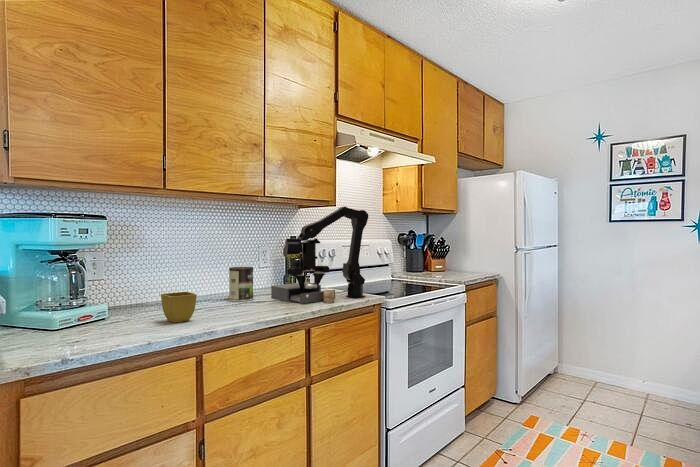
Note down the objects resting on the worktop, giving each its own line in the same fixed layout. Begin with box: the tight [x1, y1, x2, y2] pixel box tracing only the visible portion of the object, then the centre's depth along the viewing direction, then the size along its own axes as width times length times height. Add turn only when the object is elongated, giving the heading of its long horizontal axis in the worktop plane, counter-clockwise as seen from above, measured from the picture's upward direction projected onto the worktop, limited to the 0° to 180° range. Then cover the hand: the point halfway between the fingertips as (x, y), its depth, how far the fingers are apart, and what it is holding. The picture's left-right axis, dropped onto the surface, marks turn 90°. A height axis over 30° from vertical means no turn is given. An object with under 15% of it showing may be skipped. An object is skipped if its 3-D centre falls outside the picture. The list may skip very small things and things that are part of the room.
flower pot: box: [160, 291, 198, 324], centre depth 132 cm, size 9×9×9 cm
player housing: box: [270, 282, 322, 303], centre depth 179 cm, size 18×14×6 cm
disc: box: [304, 282, 317, 289], centre depth 173 cm, size 7×7×2 cm
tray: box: [289, 289, 336, 305], centre depth 172 cm, size 18×13×4 cm
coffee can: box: [228, 266, 254, 303], centre depth 174 cm, size 10×10×14 cm
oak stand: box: [323, 289, 335, 304], centre depth 167 cm, size 4×4×5 cm
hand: (309, 290), depth 173 cm, fingers closed on disc, 7 cm apart
